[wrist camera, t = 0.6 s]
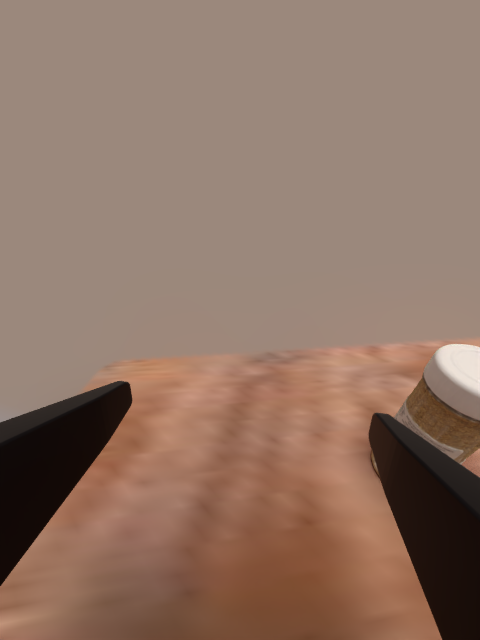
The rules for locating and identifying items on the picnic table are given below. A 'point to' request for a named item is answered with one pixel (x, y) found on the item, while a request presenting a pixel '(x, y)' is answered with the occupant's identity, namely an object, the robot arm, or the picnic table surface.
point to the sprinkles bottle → (447, 402)
